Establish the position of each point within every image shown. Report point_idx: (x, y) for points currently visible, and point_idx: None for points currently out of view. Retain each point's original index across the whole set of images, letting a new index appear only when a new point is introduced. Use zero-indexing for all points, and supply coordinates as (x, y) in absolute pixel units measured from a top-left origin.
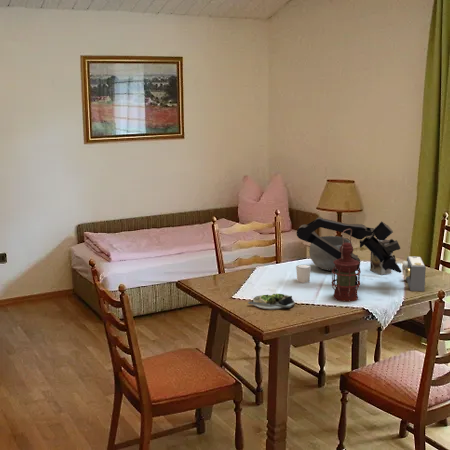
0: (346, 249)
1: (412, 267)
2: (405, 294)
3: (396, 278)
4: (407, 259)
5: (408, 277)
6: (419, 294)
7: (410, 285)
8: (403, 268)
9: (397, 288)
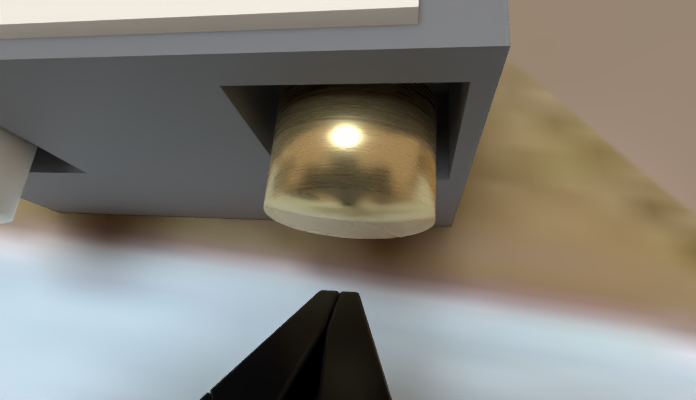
0: None
1: (503, 36)
2: (603, 301)
3: (9, 303)
4: None
5: (204, 191)
6: (567, 153)
7: (447, 208)
8: (11, 212)
9: None
